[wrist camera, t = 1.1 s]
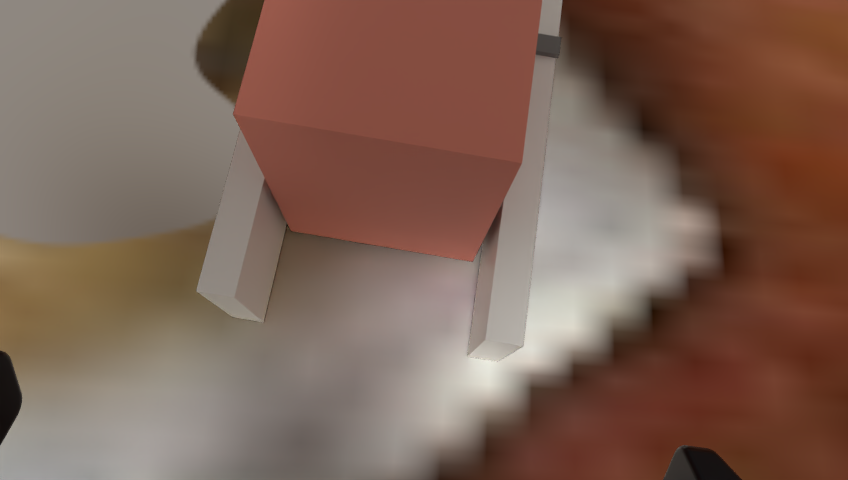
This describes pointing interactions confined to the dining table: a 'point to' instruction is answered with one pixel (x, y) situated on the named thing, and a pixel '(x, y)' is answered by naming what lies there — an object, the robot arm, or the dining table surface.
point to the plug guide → (502, 246)
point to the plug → (391, 116)
